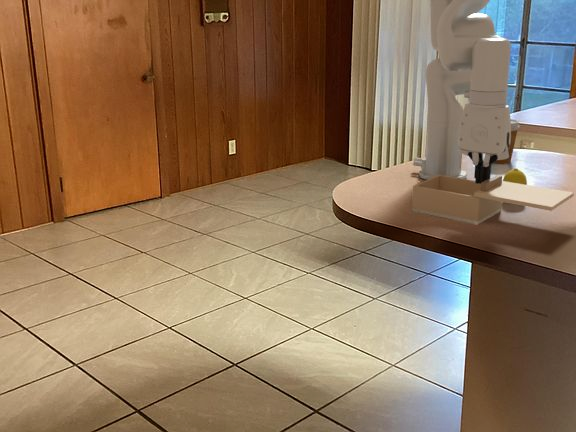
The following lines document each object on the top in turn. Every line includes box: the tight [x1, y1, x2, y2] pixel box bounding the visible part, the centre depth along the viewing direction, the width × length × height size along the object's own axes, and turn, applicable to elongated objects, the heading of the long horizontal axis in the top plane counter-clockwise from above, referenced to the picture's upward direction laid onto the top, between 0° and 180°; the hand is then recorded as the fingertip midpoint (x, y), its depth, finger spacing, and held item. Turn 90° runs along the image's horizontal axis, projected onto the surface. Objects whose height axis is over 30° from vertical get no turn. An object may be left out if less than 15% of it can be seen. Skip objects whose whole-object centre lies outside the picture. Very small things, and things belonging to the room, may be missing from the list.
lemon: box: [502, 167, 528, 185], centre depth 155 cm, size 6×6×8 cm
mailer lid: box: [474, 174, 575, 212], centre depth 138 cm, size 16×12×3 cm
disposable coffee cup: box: [493, 118, 521, 165], centre depth 191 cm, size 10×10×12 cm
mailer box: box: [411, 175, 503, 226], centre depth 149 cm, size 16×12×6 cm
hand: (481, 182), depth 144 cm, fingers closed
